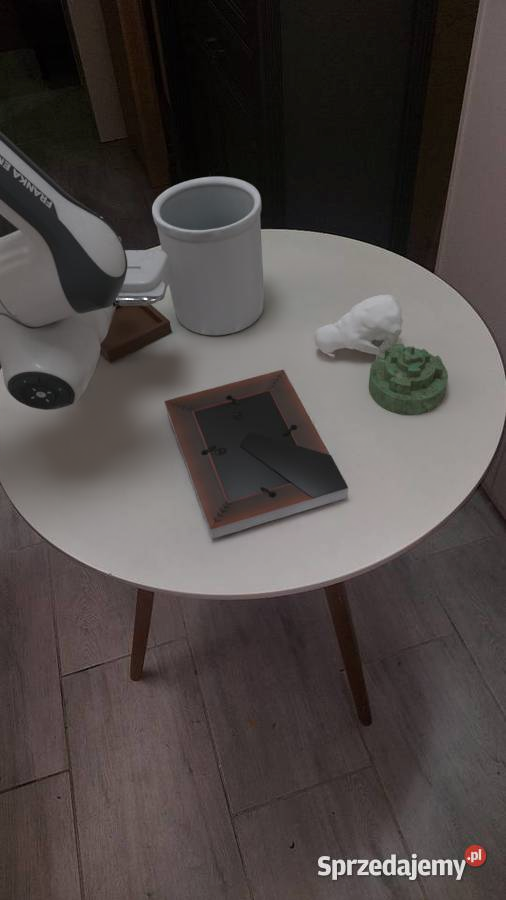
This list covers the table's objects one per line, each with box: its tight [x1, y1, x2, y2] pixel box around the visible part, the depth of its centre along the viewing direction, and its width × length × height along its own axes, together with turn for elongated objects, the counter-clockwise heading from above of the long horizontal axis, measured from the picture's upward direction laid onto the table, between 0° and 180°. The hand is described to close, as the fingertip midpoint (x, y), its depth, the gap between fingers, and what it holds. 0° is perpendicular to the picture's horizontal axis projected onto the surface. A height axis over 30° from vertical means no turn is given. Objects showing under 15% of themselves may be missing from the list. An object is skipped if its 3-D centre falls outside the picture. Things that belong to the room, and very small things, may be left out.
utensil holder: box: [151, 176, 265, 336], centre depth 99 cm, size 15×15×18 cm
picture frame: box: [164, 369, 349, 540], centre depth 84 cm, size 16×2×22 cm
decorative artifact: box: [368, 342, 449, 415], centre depth 89 cm, size 10×7×10 cm
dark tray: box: [100, 304, 173, 364], centre depth 102 cm, size 11×11×2 cm
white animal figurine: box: [313, 294, 403, 359], centre depth 94 cm, size 6×8×12 cm
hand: (103, 241), depth 92 cm, fingers closed
